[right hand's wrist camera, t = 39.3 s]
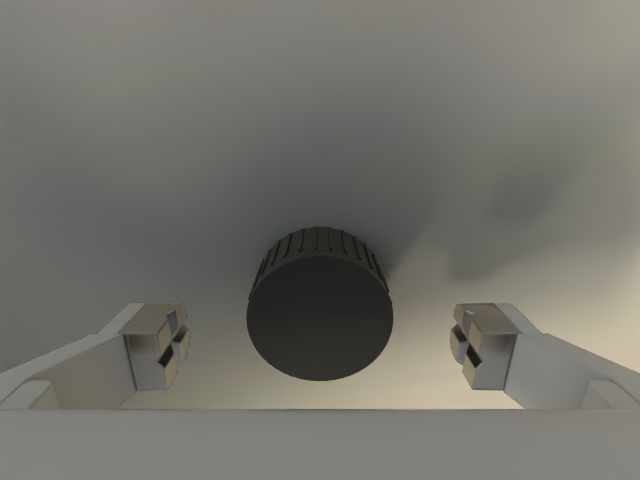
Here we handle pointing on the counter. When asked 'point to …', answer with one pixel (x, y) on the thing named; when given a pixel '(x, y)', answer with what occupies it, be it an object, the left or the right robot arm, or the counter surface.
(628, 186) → the counter surface
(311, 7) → the counter surface
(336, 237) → the cap
